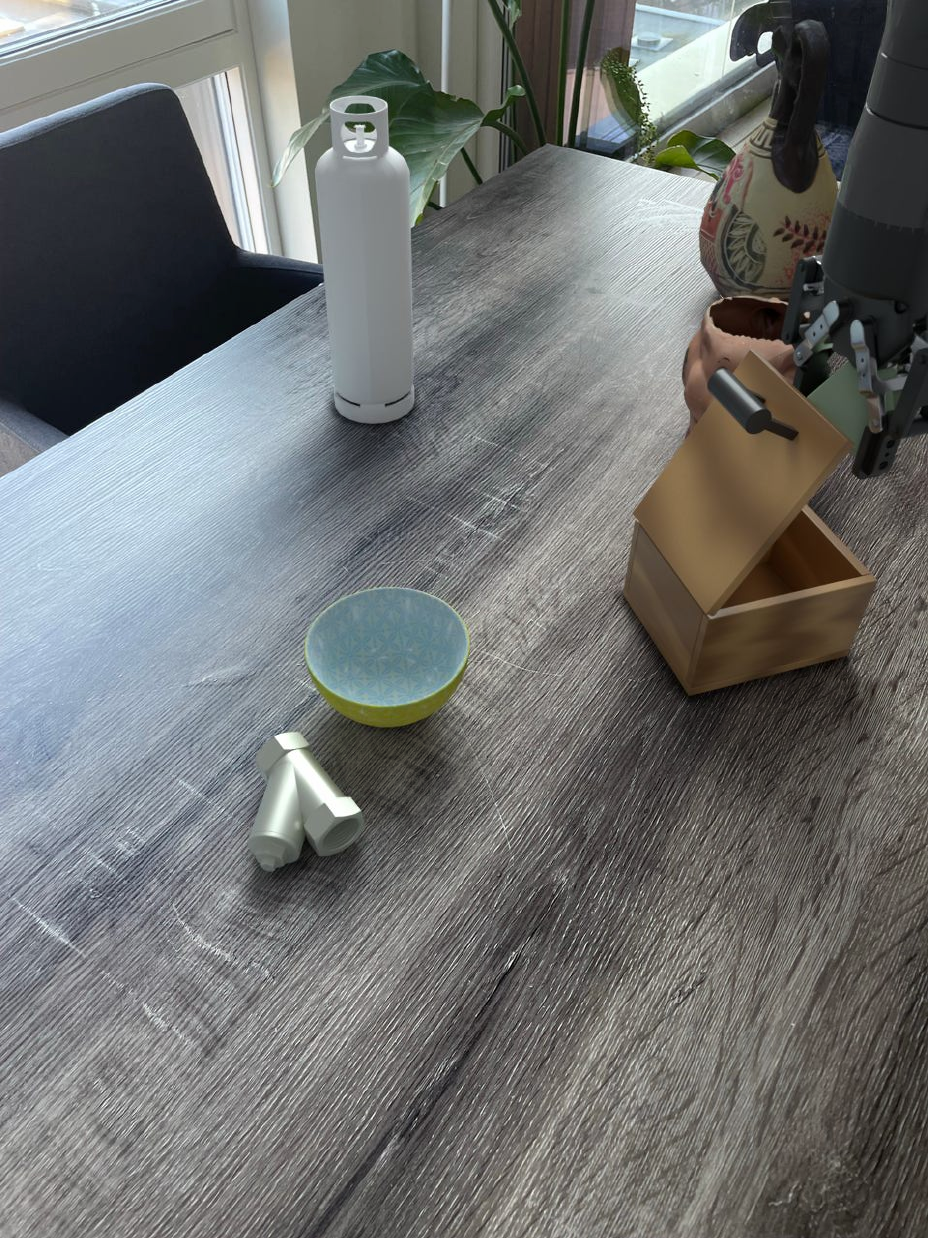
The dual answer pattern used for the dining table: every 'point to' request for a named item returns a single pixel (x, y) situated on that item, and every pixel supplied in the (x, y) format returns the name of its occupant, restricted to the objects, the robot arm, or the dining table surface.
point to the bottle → (367, 265)
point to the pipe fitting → (299, 806)
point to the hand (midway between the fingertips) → (833, 442)
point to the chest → (754, 608)
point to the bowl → (387, 655)
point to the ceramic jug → (775, 182)
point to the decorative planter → (734, 345)
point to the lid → (739, 479)
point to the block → (848, 401)
